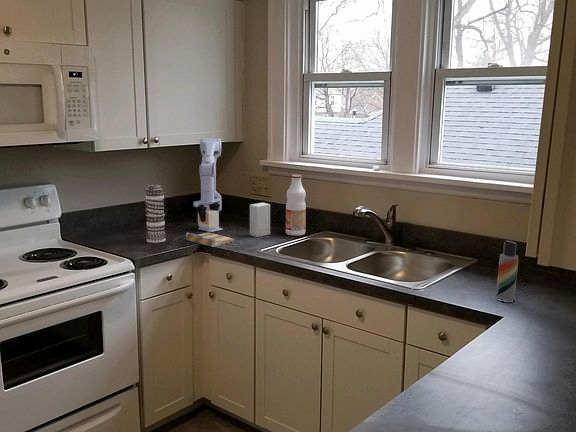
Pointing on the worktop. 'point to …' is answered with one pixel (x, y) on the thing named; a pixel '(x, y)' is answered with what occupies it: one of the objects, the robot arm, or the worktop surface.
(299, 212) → the fruit juice
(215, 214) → the carton
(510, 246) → the lotion bottle
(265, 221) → the skincare box
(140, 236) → the worktop surface
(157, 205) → the grey striped cylinder
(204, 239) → the tan flat slab
